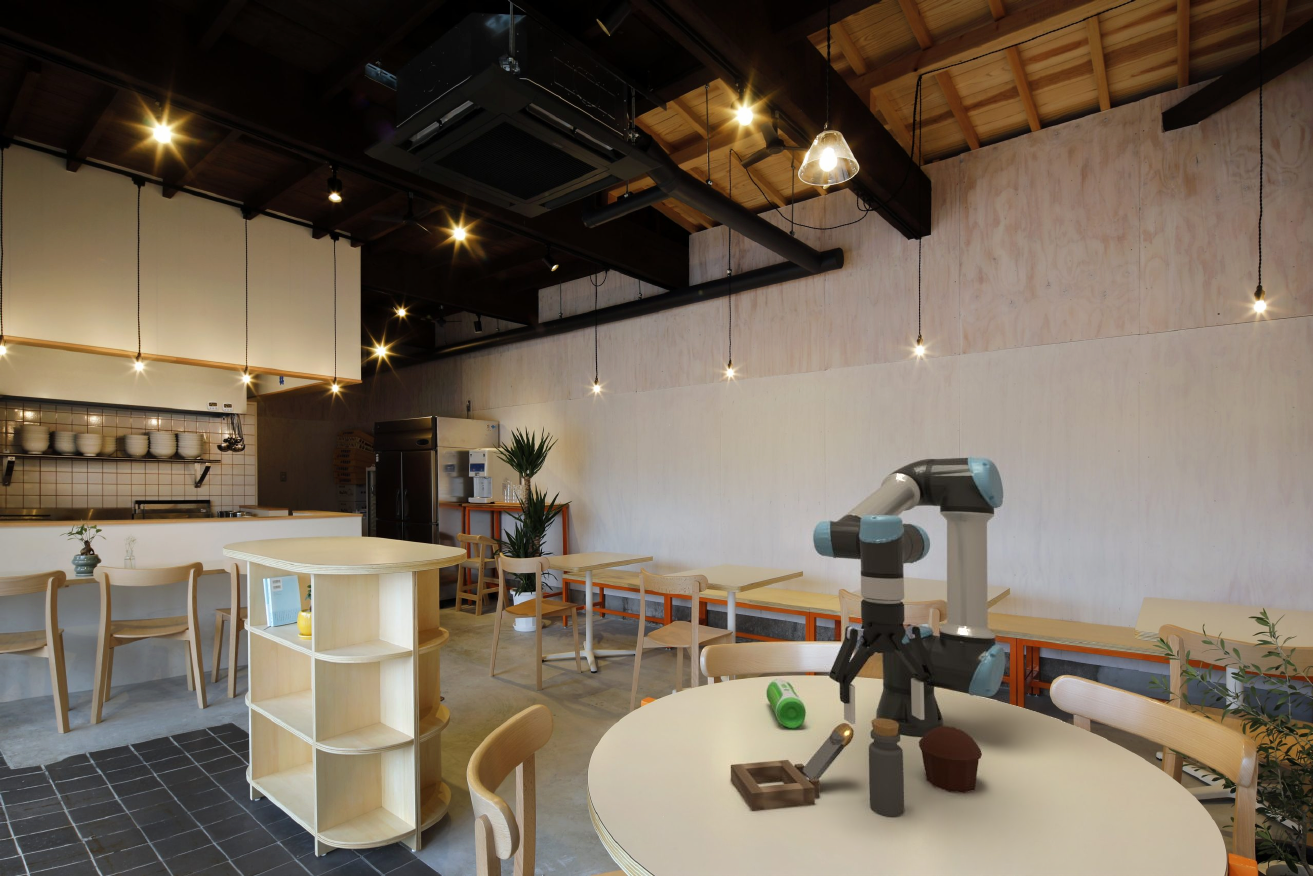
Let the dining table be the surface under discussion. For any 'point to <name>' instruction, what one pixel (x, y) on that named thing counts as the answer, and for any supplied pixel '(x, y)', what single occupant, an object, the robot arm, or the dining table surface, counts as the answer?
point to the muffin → (950, 759)
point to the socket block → (774, 796)
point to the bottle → (886, 769)
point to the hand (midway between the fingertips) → (884, 719)
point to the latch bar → (828, 751)
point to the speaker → (786, 703)
